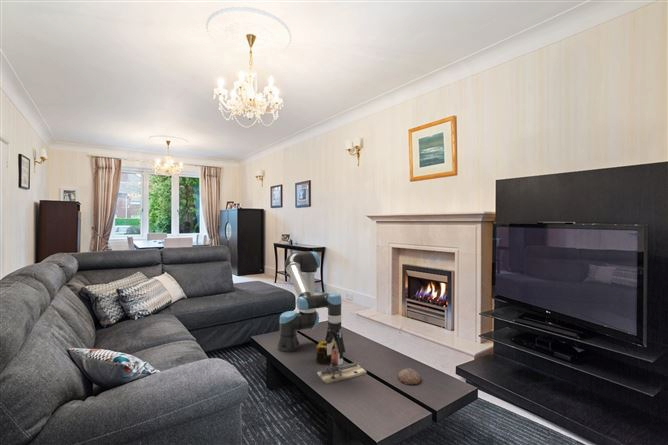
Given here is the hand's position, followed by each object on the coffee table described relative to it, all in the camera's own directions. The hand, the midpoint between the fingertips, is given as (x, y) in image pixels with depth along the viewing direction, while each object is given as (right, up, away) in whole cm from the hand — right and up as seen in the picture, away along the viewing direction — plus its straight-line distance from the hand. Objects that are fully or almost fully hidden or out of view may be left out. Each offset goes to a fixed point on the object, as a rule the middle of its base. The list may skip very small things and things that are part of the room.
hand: (334, 359), depth 183 cm
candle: (-5, -8, +16) cm, 19 cm away
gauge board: (+4, -8, -1) cm, 9 cm away
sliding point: (+1, -6, -3) cm, 7 cm away
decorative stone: (+40, -8, -8) cm, 42 cm away
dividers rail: (+4, -7, -2) cm, 8 cm away
